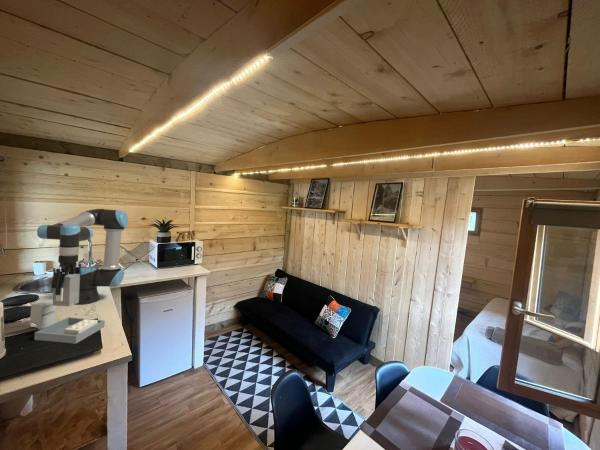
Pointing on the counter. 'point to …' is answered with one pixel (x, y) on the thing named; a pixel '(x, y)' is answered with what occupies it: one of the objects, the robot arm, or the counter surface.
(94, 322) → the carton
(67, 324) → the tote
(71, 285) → the skincare box
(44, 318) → the supplement box
